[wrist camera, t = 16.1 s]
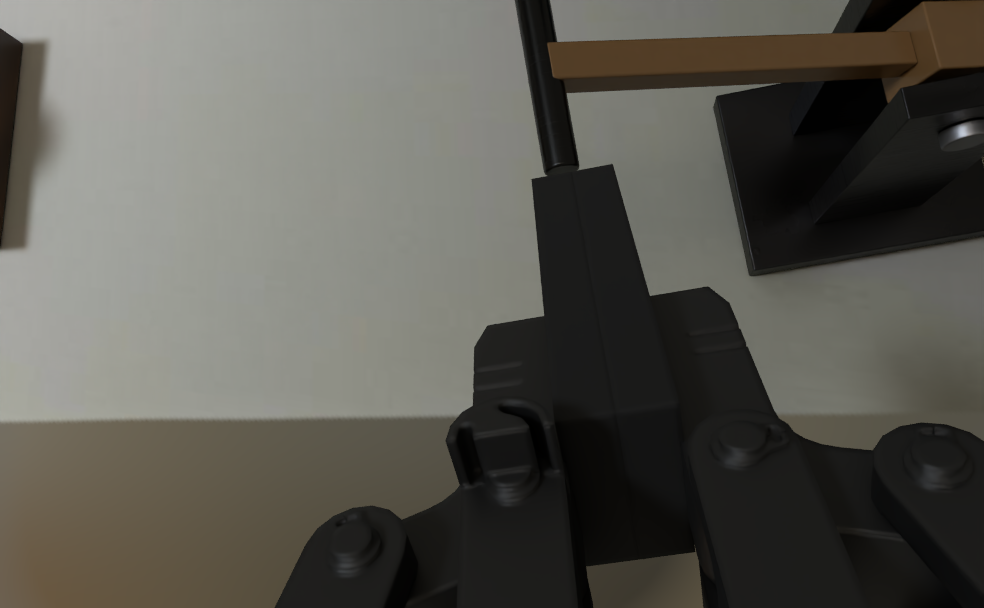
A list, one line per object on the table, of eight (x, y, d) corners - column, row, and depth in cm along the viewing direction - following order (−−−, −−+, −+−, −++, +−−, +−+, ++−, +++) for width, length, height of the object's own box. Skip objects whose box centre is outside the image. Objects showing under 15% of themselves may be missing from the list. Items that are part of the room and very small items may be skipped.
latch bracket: (749, 276, 37) (820, 186, 24) (712, 106, 38) (762, -61, 26) (988, 235, 36) (1192, 119, 23) (941, 61, 37) (1108, -135, 25)
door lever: (533, 187, 24) (557, 154, 21) (501, -5, 25) (521, -56, 23) (975, 155, 27) (1037, 124, 25) (929, -13, 28) (984, -57, 26)
